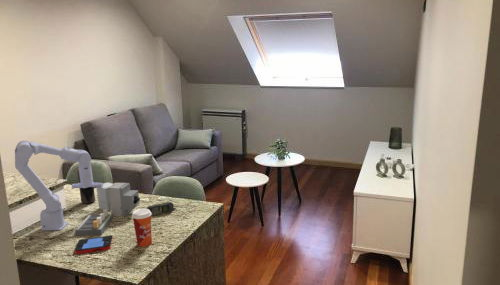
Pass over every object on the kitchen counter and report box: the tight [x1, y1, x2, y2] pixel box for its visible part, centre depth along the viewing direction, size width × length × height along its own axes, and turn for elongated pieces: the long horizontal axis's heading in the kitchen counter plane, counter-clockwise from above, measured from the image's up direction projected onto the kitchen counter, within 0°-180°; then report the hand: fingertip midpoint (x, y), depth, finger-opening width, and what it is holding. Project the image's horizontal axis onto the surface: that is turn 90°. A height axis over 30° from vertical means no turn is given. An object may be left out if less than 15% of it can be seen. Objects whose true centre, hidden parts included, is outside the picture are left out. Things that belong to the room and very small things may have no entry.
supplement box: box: [96, 181, 114, 212], centre depth 215 cm, size 7×7×13 cm
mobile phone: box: [146, 201, 177, 217], centre depth 207 cm, size 5×3×15 cm
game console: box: [74, 234, 114, 255], centre depth 176 cm, size 14×13×2 cm
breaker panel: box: [74, 209, 114, 236], centre depth 193 cm, size 12×17×6 cm
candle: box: [76, 168, 96, 204], centre depth 221 cm, size 8×7×20 cm
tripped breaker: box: [93, 220, 99, 228], centre depth 186 cm, size 2×2×3 cm
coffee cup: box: [131, 208, 153, 248], centre depth 175 cm, size 8×8×15 cm
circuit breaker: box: [108, 182, 141, 217], centre depth 207 cm, size 8×14×15 cm, turn 78°
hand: (89, 201), depth 200 cm, fingers closed
